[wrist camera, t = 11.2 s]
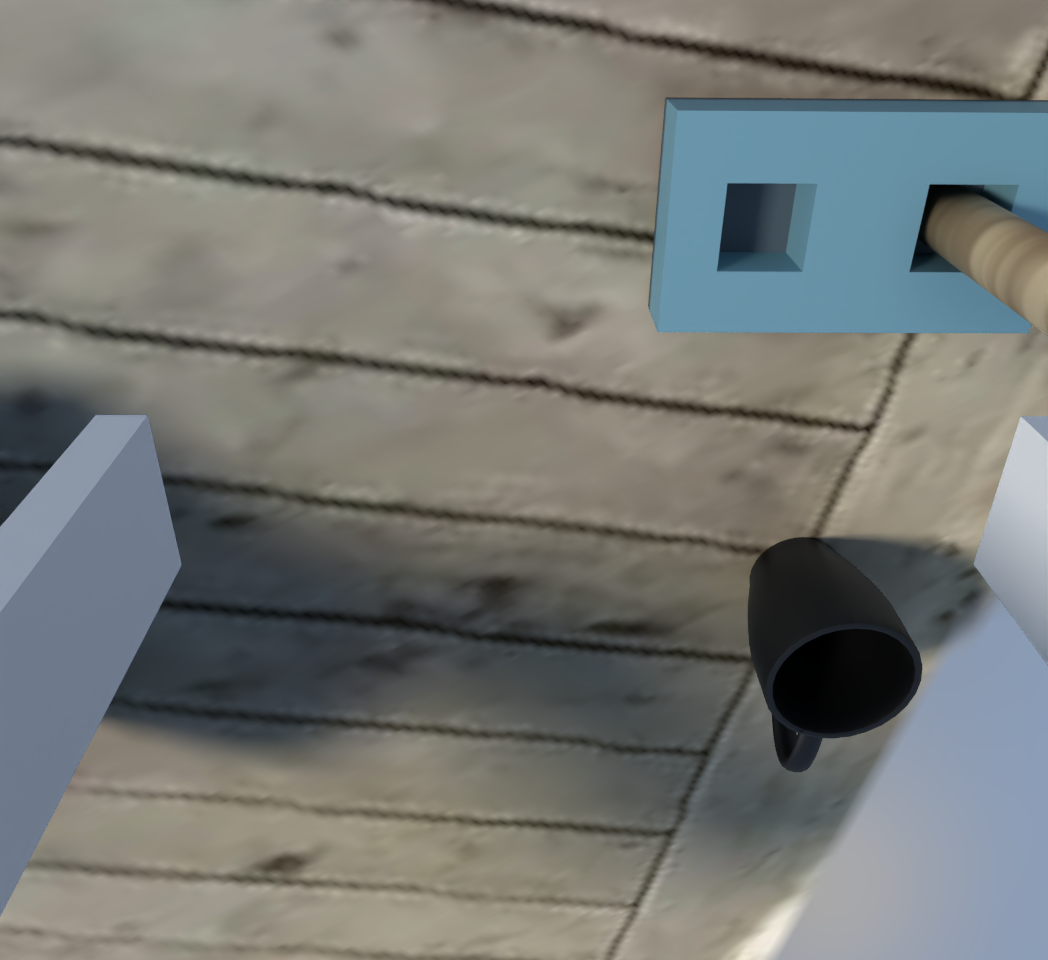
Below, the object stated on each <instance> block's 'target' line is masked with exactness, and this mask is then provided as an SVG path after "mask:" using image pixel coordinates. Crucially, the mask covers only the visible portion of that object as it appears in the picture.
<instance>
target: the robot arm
mask: <svg viewBox="0 0 1048 960" xmlns="http://www.w3.org/2000/svg"><path fill="white" fill-rule="evenodd" d="M973 564H974V566H975V567H976V568H977V570H978V571H979V572H980V574H981V575H982V577H983V578H984V579H985V581H986V582H987V583H988V585H989V586H990V587H991V589H992V590H993V592H994V593H995V594H996V596H997V597H998V598H999V600H1000V601H1001V602H1002V604H1003V605H1004V606H1005V608H1006V609H1007V611H1008V612H1009V613H1010V615H1011V616H1012V617H1013V619H1014V620H1015V621H1016V623H1017V624H1018V625H1019V627H1020V628H1021V630H1022V631H1023V632H1024V634H1025V635H1026V636H1027V638H1028V639H1029V641H1030V642H1031V643H1032V645H1033V646H1034V647H1035V649H1036V650H1037V651H1038V653H1039V654H1040V655H1041V657H1042V658H1043V660H1044V661H1045V662H1046V663H1047V665H1048V416H1021V418H1020V421H1019V424H1018V427H1017V430H1016V433H1015V436H1014V439H1013V442H1012V445H1011V449H1010V452H1009V455H1008V458H1007V461H1006V464H1005V467H1004V470H1003V473H1002V476H1001V480H1000V483H999V486H998V489H997V492H996V495H995V498H994V501H993V504H992V507H991V511H990V514H989V517H988V520H987V523H986V526H985V529H984V532H983V535H982V538H981V542H980V545H979V548H978V551H977V554H976V557H975V560H974V563H973ZM181 565H182V564H181V560H180V555H179V551H178V546H177V542H176V538H175V533H174V529H173V524H172V520H171V516H170V511H169V507H168V502H167V498H166V494H165V489H164V485H163V480H162V476H161V472H160V467H159V463H158V458H157V454H156V450H155V445H154V441H153V436H152V432H151V427H150V423H149V419H148V415H96V416H95V417H94V418H93V419H92V420H91V421H90V423H89V424H88V425H87V426H86V427H85V428H84V430H83V431H82V432H81V433H80V434H79V435H78V437H77V438H76V439H75V440H74V441H73V442H72V444H71V445H70V446H69V447H68V448H67V449H66V451H65V452H64V453H63V454H62V455H61V456H60V458H59V459H58V460H57V461H56V462H55V463H54V465H53V466H52V467H51V468H50V469H49V470H48V472H47V473H46V474H45V475H44V476H43V477H42V479H41V480H40V481H39V482H38V483H37V485H36V486H35V487H34V488H33V489H32V490H31V492H30V493H29V494H28V495H27V496H26V497H25V499H24V500H23V501H22V502H21V503H20V504H19V506H18V507H17V508H16V509H15V510H14V511H13V513H12V514H11V515H10V516H9V517H8V518H7V520H6V521H5V522H4V523H3V524H2V525H1V527H0V916H1V914H2V912H3V910H4V908H5V906H6V904H7V902H8V900H9V898H10V896H11V894H12V892H13V891H14V889H15V887H16V885H17V883H18V881H19V879H20V877H21V875H22V873H23V871H24V869H25V867H26V865H27V863H28V862H29V860H30V858H31V856H32V854H33V852H34V850H35V848H36V846H37V844H38V842H39V840H40V838H41V836H42V834H43V832H44V831H45V829H46V827H47V825H48V823H49V821H50V819H51V817H52V815H53V813H54V811H55V809H56V807H57V805H58V803H59V802H60V800H61V798H62V796H63V794H64V792H65V790H66V788H67V786H68V784H69V782H70V780H71V778H72V776H73V774H74V773H75V771H76V769H77V767H78V765H79V763H80V761H81V759H82V757H83V755H84V753H85V751H86V749H87V747H88V745H89V743H90V742H91V740H92V738H93V736H94V734H95V732H96V730H97V728H98V726H99V724H100V722H101V720H102V718H103V716H104V714H105V713H106V711H107V709H108V707H109V705H110V703H111V701H112V699H113V697H114V695H115V693H116V691H117V689H118V687H119V685H120V684H121V682H122V680H123V678H124V676H125V674H126V672H127V670H128V668H129V666H130V664H131V662H132V660H133V658H134V656H135V654H136V653H137V651H138V649H139V647H140V645H141V643H142V641H143V639H144V637H145V635H146V633H147V631H148V629H149V627H150V625H151V624H152V622H153V620H154V618H155V616H156V614H157V612H158V610H159V608H160V606H161V604H162V602H163V600H164V598H165V596H166V595H167V593H168V591H169V589H170V587H171V585H172V583H173V581H174V579H175V577H176V575H177V573H178V571H179V569H180V567H181Z"/></svg>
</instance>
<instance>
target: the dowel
mask: <svg viewBox="0 0 1048 960" xmlns="http://www.w3.org/2000/svg"><path fill="white" fill-rule="evenodd" d="M917 239H918V240H920V241H921V242H922V243H924V244H925V245H926V246H928V247H929V248H930V249H932V250H933V251H934V252H936V253H937V254H938V255H940V256H941V257H942V258H944V259H945V260H946V261H948V262H949V263H950V264H952V265H953V266H954V267H956V268H957V269H958V270H960V271H961V272H962V273H964V274H965V275H966V276H968V277H969V278H970V279H972V280H973V281H974V282H976V283H977V284H978V285H980V286H981V287H982V288H984V289H985V290H986V291H988V292H989V293H990V294H992V295H993V296H994V297H996V298H997V299H998V300H1000V301H1001V302H1003V303H1004V304H1005V305H1007V306H1008V307H1009V308H1011V309H1012V310H1013V311H1015V312H1016V313H1017V314H1019V315H1020V316H1021V317H1023V318H1024V319H1025V320H1027V321H1028V322H1029V323H1031V324H1032V325H1033V326H1035V327H1036V328H1037V329H1039V330H1040V331H1041V332H1043V333H1044V334H1045V335H1047V336H1048V233H1047V232H1046V231H1044V230H1042V229H1040V228H1038V227H1037V226H1035V225H1033V224H1031V223H1029V222H1028V221H1026V220H1024V219H1022V218H1020V217H1019V216H1017V215H1015V214H1013V213H1011V212H1010V211H1008V210H1006V209H1004V208H1002V207H1001V206H999V205H997V204H995V203H994V202H992V201H990V200H988V199H986V198H985V197H983V196H981V195H979V194H977V193H976V192H974V191H972V190H970V189H968V188H967V187H965V186H963V185H957V184H930V185H929V189H928V194H927V198H926V202H925V207H924V211H923V215H922V220H921V224H920V228H919V233H918V237H917Z"/></svg>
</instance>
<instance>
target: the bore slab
mask: <svg viewBox="0 0 1048 960" xmlns="http://www.w3.org/2000/svg"><path fill="white" fill-rule="evenodd" d="M930 184H957V185H963V186H965V187H967V188H968V189H970V190H972V191H974V192H976V193H977V194H979V195H981V196H983V197H985V198H986V199H988V200H990V201H992V202H994V203H995V204H997V205H999V206H1001V207H1002V208H1004V209H1006V210H1008V211H1010V212H1011V213H1013V214H1015V215H1017V216H1019V217H1020V218H1022V219H1024V220H1026V221H1028V222H1029V223H1031V224H1033V225H1035V226H1037V227H1038V228H1040V229H1042V230H1044V231H1046V232H1047V233H1048V100H922V99H782V98H665V109H664V121H663V134H662V146H661V158H660V170H659V182H658V194H657V207H656V219H655V231H654V243H653V255H652V267H651V280H650V292H649V304H648V307H649V310H650V313H651V315H652V318H653V321H654V323H655V326H656V329H657V331H658V332H792V333H1029V331H1030V327H1031V323H1029V322H1028V321H1027V320H1025V319H1024V318H1023V317H1021V316H1020V315H1019V314H1017V313H1016V312H1015V311H1013V310H1012V309H1011V308H1009V307H1008V306H1007V305H1005V304H1004V303H1003V302H1001V301H1000V300H998V299H997V298H996V297H994V296H993V295H992V294H990V293H989V292H988V291H986V290H985V289H984V288H982V287H981V286H980V285H978V284H977V283H976V282H974V281H973V280H972V279H970V278H969V277H968V276H966V275H965V274H964V273H962V272H961V271H960V270H958V269H957V268H956V267H954V266H953V265H952V264H950V263H949V262H948V261H946V260H945V259H944V258H942V257H941V256H940V255H938V254H937V253H936V252H934V251H933V250H932V249H930V248H929V247H928V246H926V245H925V244H924V243H922V242H921V241H920V240H918V239H917V237H918V233H919V228H920V224H921V220H922V215H923V211H924V207H925V202H926V198H927V194H928V189H929V185H930Z"/></svg>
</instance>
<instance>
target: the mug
mask: <svg viewBox="0 0 1048 960" xmlns="http://www.w3.org/2000/svg"><path fill="white" fill-rule="evenodd" d="M748 634H749V645H750V651H751V657H752V660H753V664H754V667H755V670H756V673H757V676H758V679H759V682H760V685H761V688H762V691H763V694H764V697H765V700H766V703H767V706H768V708H769V710H770V711H771V713H772V723H773V734H774V742H775V747H776V752H777V756H778V759H779V761H780V763H781V765H782V766H783V767H784V768H786V769H787V770H789V771H792V772H803V771H805V770H807V769H808V768H809V767H810V766H811V764H812V762H813V760H814V759H815V757H816V754H817V752H818V750H819V747H820V744H821V741H822V738H840V737H849V736H853V735H857V734H860V733H864V732H867V731H869V730H872V729H874V728H876V727H878V726H881V725H883V724H884V723H886V722H887V721H889V720H890V719H892V718H893V717H895V716H896V715H897V714H898V713H899V712H901V711H902V710H903V709H904V708H905V707H906V706H907V705H908V703H909V702H910V701H911V699H912V698H913V696H914V695H915V694H916V691H917V689H918V687H919V684H920V682H921V675H922V663H921V658H920V653H919V651H918V649H917V648H916V646H915V644H914V642H913V641H912V639H911V637H910V635H909V634H908V632H907V630H906V628H905V627H904V625H903V623H902V622H901V620H900V618H899V617H898V615H897V613H896V612H895V610H894V608H893V607H892V605H891V604H890V602H889V601H888V600H887V599H886V597H885V596H884V595H883V594H882V592H881V591H880V590H879V589H878V588H877V587H876V586H875V585H874V584H873V583H872V582H871V581H870V580H869V579H868V578H867V577H866V576H865V575H864V574H862V573H861V572H860V571H859V570H858V569H857V568H856V567H855V566H854V565H852V564H851V563H850V562H849V561H847V560H846V559H845V558H843V557H842V556H841V555H839V554H838V553H837V552H836V551H835V550H833V549H832V548H831V547H830V546H829V545H827V544H825V543H824V542H822V541H819V540H815V539H811V538H794V539H789V540H785V541H782V542H780V543H777V544H775V545H774V546H772V547H770V548H769V549H767V550H766V551H765V552H764V553H763V554H762V555H761V556H760V557H759V558H758V559H757V560H756V562H755V564H754V566H753V568H752V570H751V574H750V589H749V599H748ZM796 732H797V733H798V735H797V734H796Z"/></svg>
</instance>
